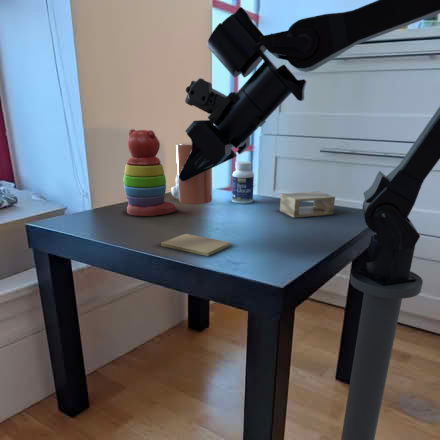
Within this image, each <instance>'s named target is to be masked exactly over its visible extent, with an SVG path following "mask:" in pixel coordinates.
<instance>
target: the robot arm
mask: <svg viewBox="0 0 440 440" xmlns="http://www.w3.org/2000/svg"><path fill="white" fill-rule="evenodd" d="M436 15H440V0H374V1H373V2H370V3H368V4H365V5H363V6H360V7H358V8H355V9H353V10H347V11H343V12H331V13H324V14H319V15H313V16H309V17H305V18H300V19H298V20H297V21H295V22H294V23H292V24H291V25H290V26H289V27H288V30H283V31H279V32H274V33H269V34H265V35H264V34H263V33H262V31H261V30H260V29H259V28H258V26H257V25H256V24H255V23H254V22H253V20H252V17H251V16H250V15H249V13H248V12H247V11H246V9H244V8H243V7H242V6H239V7H238V8H237V10H236V11H235V12H234V13H233V14H231V15H229V16H228V17H226V18H225V19H224V20H223V21H222V22H220V23H218V24H217V26H216V27H215V28H214V29H213V31H212V33H211V34H210V35H209V38H208V39H207V43H206V46H207V47H206V48H208V50H209V51H210V52H211V53H212V54H213V55H214V57H216V59H217V60H218V61H219V62H220V63H221V65H223V67H224V68H225V69H226V71H228V72H229V74H231V76H232V77H233V78H237V77H238V76H240V75H241V76H242V77H243V78H246V77H248V76H249V75H250V74H252V75H251V76H250V77H249V78H248V79H247V81H246V82H244V84H243V85H242V86H241V87H240V88H239V89H238V91H231V92H229V94H228V95H225V93H222V92H220V91H218V90H216V89H214V88H213V84H212V82H209V81H207V80H205V79H204V78H201V77H200V78H197V80H191V81H190V85H189V86H187V87H186V88H185V93H186V97H185V99H184V103H185V104H187V105H188V106H191V107H194V108H195V107H196V108H197V109H199V110H201V111H203V112H205V113H207V114H209V115H208V116H207V119H199V120H193V121H192V122H191V123H190V125H188V127H187V128H186V129H185V131H184V132H185V134H186V135H187V136H188V138H189V139H190V140H191V142H190V143H192V150H191V152H190V154H189V156H188V158H187V160H186V162H185V164H184V166H183V168H182V170H181V172H180V174H179V178H180V179H181V180H182V181H185V180H188V179H190V178H192V177H194V176H196V175H198V174H200V173H202V172H205V171H207V170H209V169H211V168H212V169H213V168H216V167H217V166H220V165H222V164H223V163H225V162H227V161H230V160H232V159H234V158H237V156H238V155H241V154H243V153H244V152H245V151H246V150H247V149H248V148H250V146H251V136H252V135H253V134H254V133H255V132H256V131H257V130H258V129H259V128H261V127H263V126H264V124H265V123H266V122H267V121H266V120H267V119H268V118H269V117H270V116H271V115H272V114H273V113H275V111H276V110H277V108H278V107H279V106H280V105H282V104H283V102H285V100H286V99H287V98H288V97H289V96H291V94H292V95H293V96H294V98H295V99H296V100H297V101H299V102H303V101H304V100H305V88H306V85H307V80H306V79H303V78H302V79H298V78H297V77H296V76H295V75H294V74H293V73H292V72H291V71H290V69H289V68H288V67H287V66H286V64H282V65H280V66H279V67H277V66H276V65H275V64H274V63H273V61H271V59H270V58H269V57H268V56H267V55H266V54H265V53H266V52H267V51H268V52H269V53H270V54H271V55H272V56H274V57H275V58H276V59H279V60H283V61H287V62H288V63H289V64H290V66H292V67H293V68H294V69H295V70H298V71H299V72H304V73H310V72H313V71H315V70H317V69H319V68H320V67H322V66H324V65H325V64H327V63H329V62H331V61H332V60H334V59H336V58H337V57H339V56H341V55H342V54H344V53H345V52H346V51H348V50H350V49H352V48H354V47H355V46H357V45H359V44H362V43H365V42H367V41H370V40H372V39H375V38H378V37H381V36H383V35H386V34H389V33H392V32H394V31H397V30H399V29H402V28H405V27H408V26H410V25H414V24H417V23H418V22H420V21H423V20H426V19H429V18H431V17H434V16H436ZM262 61H263V62H262ZM261 62H262V63H261ZM260 63H261V65H260ZM259 65H260V66H259ZM258 66H259V67H258ZM257 67H258V68H257ZM256 68H257V69H256ZM255 69H256V70H255ZM254 71H255V72H254ZM253 72H254V73H253ZM233 148H235V149H238V150H237V151H236V152H237V153H235V151H234V150H233ZM237 154H238V155H237ZM439 161H440V106H439V107H438V108H437V109H436V111H435V112H434V114H433V116H432V117H431V118H430V119H429V121H428V123H427V124H426V125H425V127H424V128H423V130H422V131H421V132H420V134H419V135H418V137H417V138H416V140H414V143H413V144H412V145H411V147H410V148H409V150H408V151H407V153H406V154H405V156H404V157H403V158H402V160H401V161H400V163H398V165H397V166H396V167H395V168H394V169H393V170H392V171H391V172H389V173H388V174H387V175H385V173H383V172H382V171H381V170H380V171H378V172H377V174H376V175H375V178H374V180H373V182H372V184H371V186H369V188H368V189H367V190H365V191H364V192H363V193H362V194H363V196H364V200H363V202H362V212H363V217H364V222H365V224H366V226H367V228H368V229H369V230H370V231H371V232H373V233H375V234H371V235H370V240H369V243H368V247H367V255H366V257H367V258H368V259H369V262H366V263H365V265H366V268H362V269H358V272H359V273H360V274H362V275H364V276H366V277H367V278H369V279H371V280H373V281H374V282H376V283H378V284H380V285H382V286H387V285H394V284H401V283H407V282H414V281H416V279H417V278H416V277H414V276H412V275H410V271H411V269H412V264H413V259H414V254H415V250H416V249H415V248H416V245H417V243H418V241H419V239H420V238H421V235H420V233H419V232H418V230H417V229H416V227H415V226H414V224H413V221H412V220H411V219H409V215H410V214H411V212H412V210H413V208H414V207H415V204H416V201H417V199H418V196H419V194H420V191H421V188H422V186H423V184H424V181H425V180H426V178H427V177H428V176H429V175H430V173H431V171H432V170H433V169H434V167H435V166H436V165H437V164H438V162H439Z"/></svg>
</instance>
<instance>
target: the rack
mask: <svg viewBox="0 0 440 440" xmlns="http://www.w3.org/2000/svg"><path fill="white" fill-rule="evenodd" d="M279 201H280V203H279V211H280V212H281V213H283V214H285V215H287V216H289V217H292V218H294V219H296V218H297V219H298V218H308V217H319V216H321V217H322V216H329V215H334V210H335V201H336V196H334V195H331V194H328V193H325V192H321V191H319V190H318V191H305V192H303V191H302V192H288V193H280V200H279ZM301 202H313V203H312V205H309V206H300V203H301Z"/></svg>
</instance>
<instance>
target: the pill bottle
mask: <svg viewBox="0 0 440 440" xmlns="http://www.w3.org/2000/svg"><path fill="white" fill-rule="evenodd" d="M234 167H235V170H234V171H233V172H232V179H231V182H232V183H231V201H232V203H235V204H245V205H246V204H251V203H252V202H253V200H254V181H255V179H254V178H255V174H254V172H253V171H252V170H251V169H252V162H251V161H242V160H241V161H235V166H234Z"/></svg>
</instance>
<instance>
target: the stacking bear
mask: <svg viewBox="0 0 440 440" xmlns="http://www.w3.org/2000/svg"><path fill="white" fill-rule="evenodd" d="M126 144H127V149H128V152H129V154H130V156H131V157H129V158H128V159H127V161H126V164H125V167H124V175H123V189H124V193H125V197H126V200H127V203H128V205H127V206H126V213H127V214H128V215H130V216H134V217H156V216H162V215H168V214H171V213H175V212H177V207H176V205H175V204H174V203H173V202H169V201H166V200H165V197H166V196H165V195H166V191H167V180H166V175H165V170H164V167H163V164H162V163H161V160H160V159H159V158H158V157H157V155H158V153H159V151H160V147H161V146H160V145H161V144H160V140H159V139H158V136H156V133H155V132H154V130H151V129H150V130H146V129H138V130H135V129H134V128H132V129H130V130H129V131H128V139H127V143H126Z"/></svg>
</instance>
